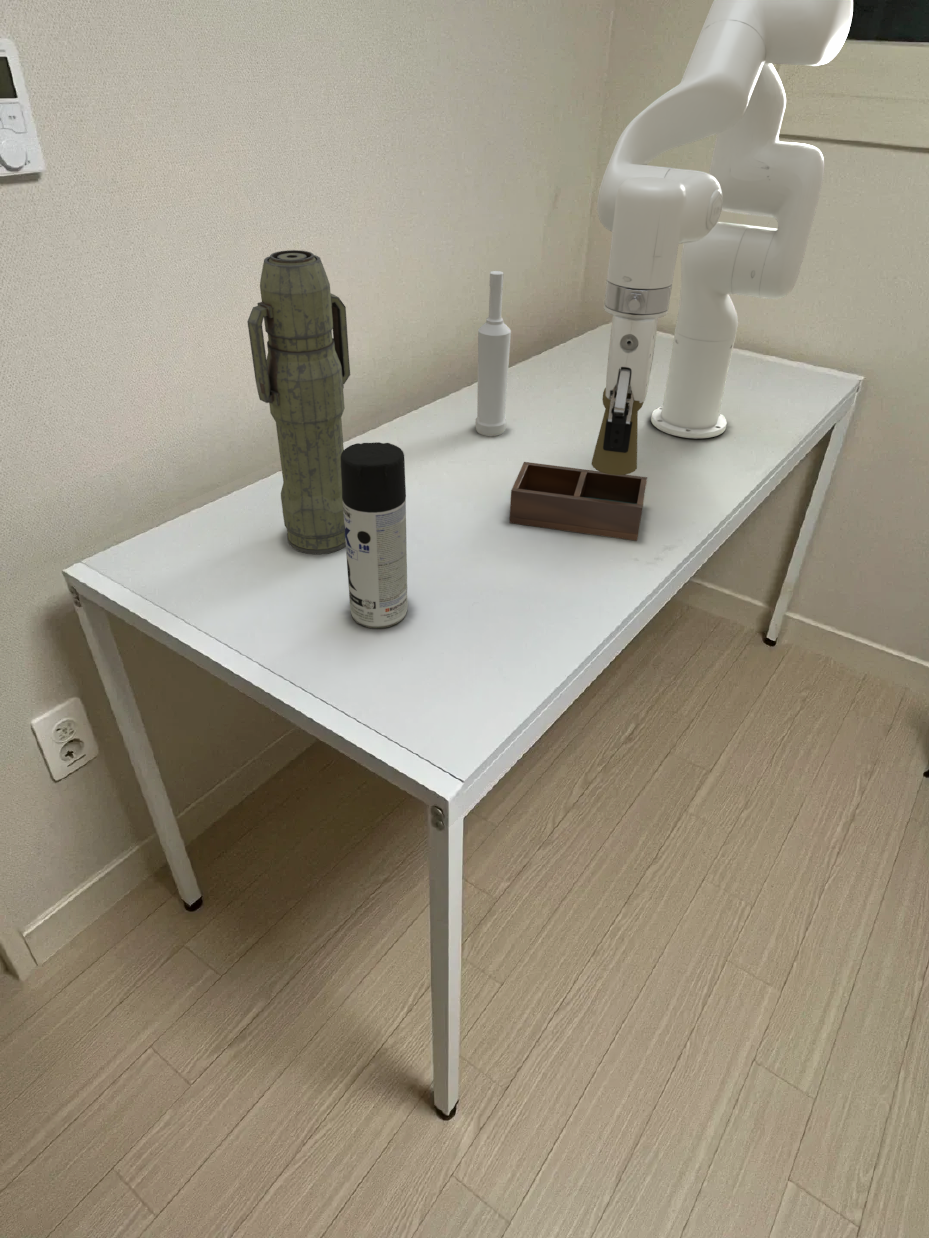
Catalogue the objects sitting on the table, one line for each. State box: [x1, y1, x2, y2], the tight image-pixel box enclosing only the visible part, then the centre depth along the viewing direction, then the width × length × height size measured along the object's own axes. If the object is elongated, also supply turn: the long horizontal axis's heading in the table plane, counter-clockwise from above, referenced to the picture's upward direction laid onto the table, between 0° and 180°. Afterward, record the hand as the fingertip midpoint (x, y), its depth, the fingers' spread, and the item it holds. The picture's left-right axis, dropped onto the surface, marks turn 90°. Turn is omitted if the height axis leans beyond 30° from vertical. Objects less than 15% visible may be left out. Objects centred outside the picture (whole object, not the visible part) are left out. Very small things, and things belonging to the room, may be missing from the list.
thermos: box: [247, 249, 351, 555], centre depth 99 cm, size 9×12×35 cm
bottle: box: [475, 270, 512, 437], centre depth 131 cm, size 5×5×25 cm
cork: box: [590, 387, 645, 475], centre depth 106 cm, size 6×6×11 cm
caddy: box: [508, 461, 648, 541], centre depth 114 cm, size 9×17×5 cm, turn 76°
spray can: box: [341, 441, 409, 629], centre depth 90 cm, size 7×7×20 cm
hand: (617, 441), depth 107 cm, fingers closed on cork, 4 cm apart
